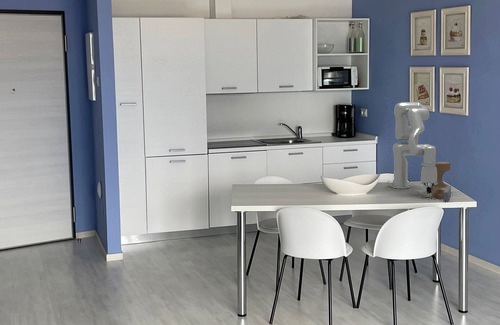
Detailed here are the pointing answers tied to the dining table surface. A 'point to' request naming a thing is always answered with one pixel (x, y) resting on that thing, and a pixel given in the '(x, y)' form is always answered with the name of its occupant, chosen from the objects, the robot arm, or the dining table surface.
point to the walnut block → (437, 193)
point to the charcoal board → (447, 193)
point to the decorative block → (441, 173)
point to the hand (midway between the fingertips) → (428, 193)
